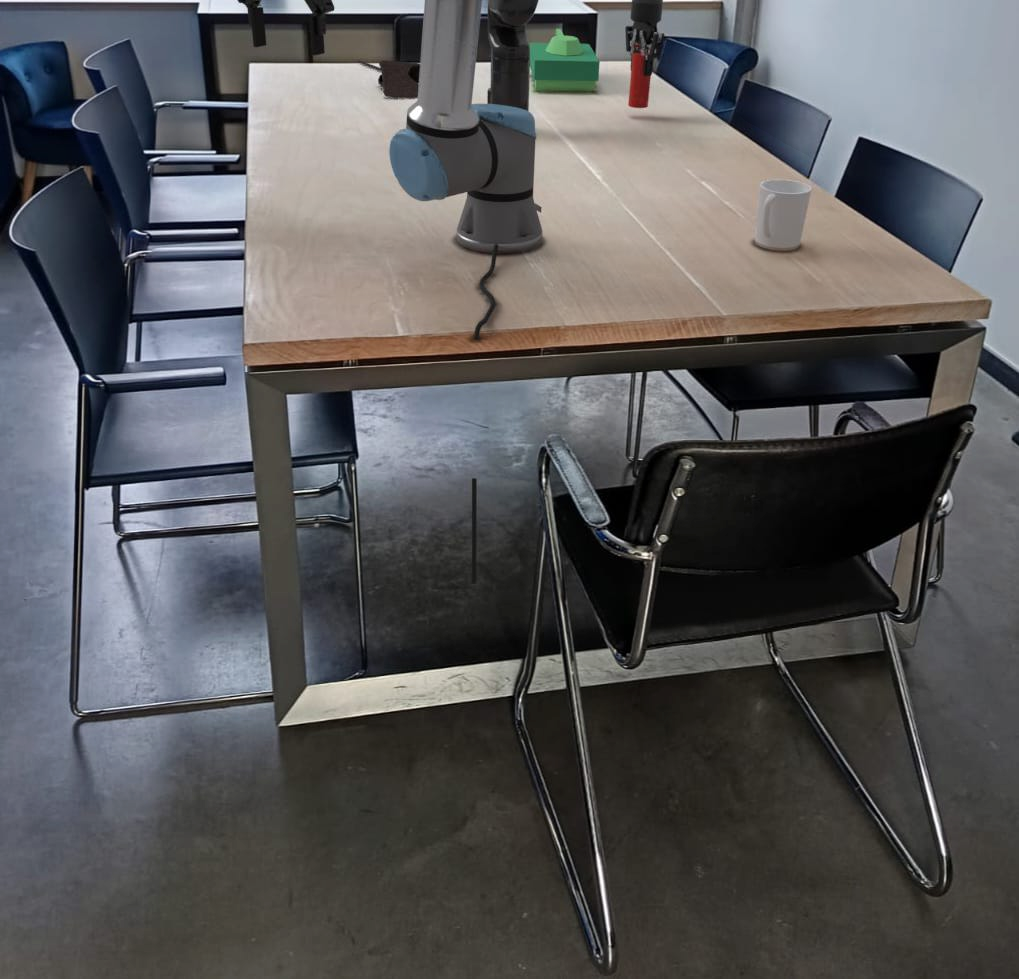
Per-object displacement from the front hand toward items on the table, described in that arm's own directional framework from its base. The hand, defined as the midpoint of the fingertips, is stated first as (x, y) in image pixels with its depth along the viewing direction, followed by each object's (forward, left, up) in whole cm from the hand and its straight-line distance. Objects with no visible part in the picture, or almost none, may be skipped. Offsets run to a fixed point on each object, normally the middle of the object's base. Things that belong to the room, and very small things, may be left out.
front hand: (288, 50), depth 200 cm
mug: (-11, -90, -28) cm, 95 cm away
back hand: (+84, -64, -17) cm, 107 cm away
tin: (+84, -64, -25) cm, 108 cm away
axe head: (+102, +1, -28) cm, 105 cm away
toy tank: (+125, -40, -28) cm, 134 cm away
